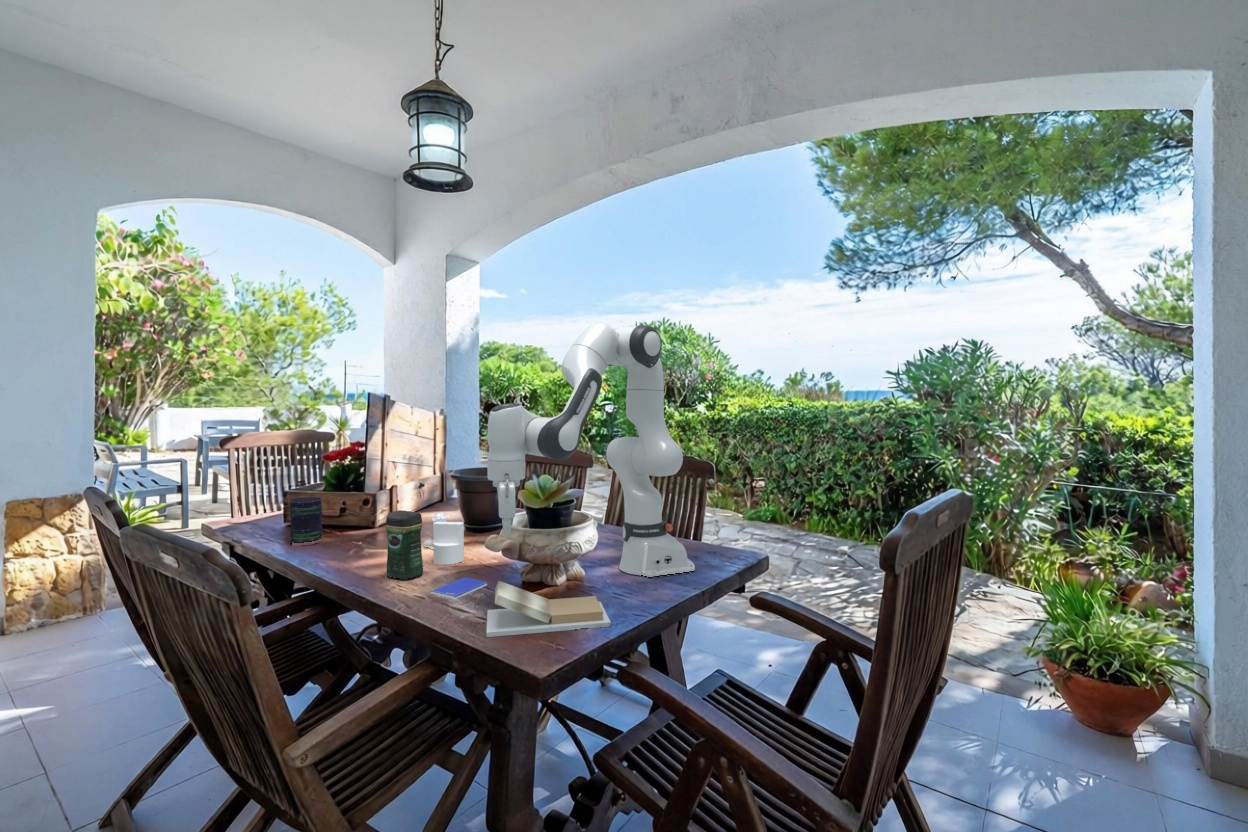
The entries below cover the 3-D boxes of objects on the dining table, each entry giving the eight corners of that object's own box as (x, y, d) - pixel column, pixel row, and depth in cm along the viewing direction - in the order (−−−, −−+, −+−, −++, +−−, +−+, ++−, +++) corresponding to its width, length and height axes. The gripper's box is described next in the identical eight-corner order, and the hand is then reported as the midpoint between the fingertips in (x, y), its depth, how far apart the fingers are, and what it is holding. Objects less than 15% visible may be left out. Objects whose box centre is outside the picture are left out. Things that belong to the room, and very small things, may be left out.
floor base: (600, 605, 141) (600, 593, 141) (610, 626, 129) (610, 613, 128) (487, 614, 136) (487, 601, 135) (486, 637, 123) (486, 623, 123)
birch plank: (544, 606, 137) (548, 598, 137) (548, 623, 127) (551, 614, 127) (495, 588, 134) (498, 580, 134) (494, 603, 124) (498, 595, 124)
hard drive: (454, 595, 145) (487, 581, 156) (430, 590, 149) (464, 576, 160) (454, 601, 145) (487, 587, 156) (430, 596, 149) (464, 582, 160)
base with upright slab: (468, 557, 182) (468, 520, 181) (457, 566, 173) (457, 526, 172) (440, 556, 183) (440, 519, 182) (428, 565, 174) (428, 525, 173)
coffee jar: (428, 574, 165) (427, 510, 165) (407, 582, 158) (406, 515, 157) (403, 569, 169) (402, 507, 169) (381, 577, 162) (380, 512, 161)
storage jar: (307, 537, 206) (306, 496, 205) (329, 540, 203) (328, 498, 202) (283, 544, 196) (282, 501, 196) (305, 547, 193) (304, 503, 193)
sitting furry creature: (450, 542, 200) (450, 508, 199) (458, 548, 193) (458, 512, 192) (422, 546, 194) (422, 511, 194) (430, 552, 187) (429, 516, 187)
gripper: (521, 477, 128) (521, 539, 128) (518, 466, 148) (518, 519, 148) (492, 478, 126) (492, 540, 127) (493, 466, 146) (493, 520, 147)
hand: (506, 529), depth 138 cm, fingers open, 8 cm apart
